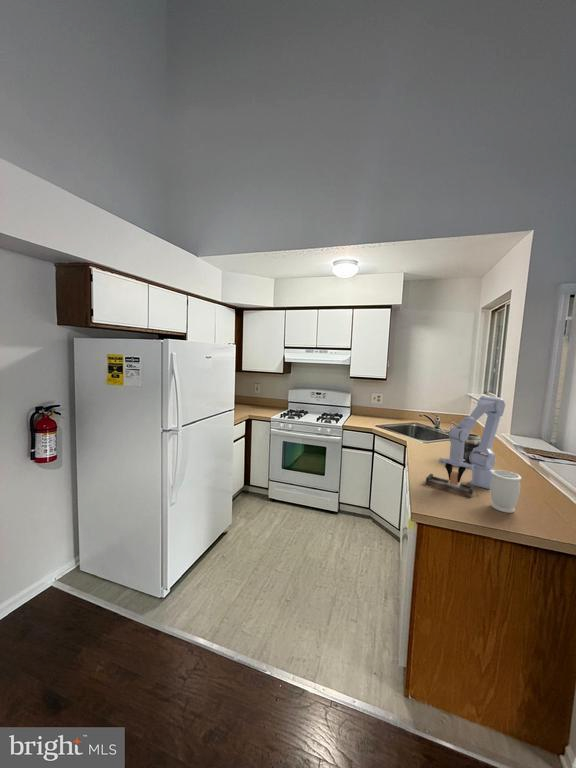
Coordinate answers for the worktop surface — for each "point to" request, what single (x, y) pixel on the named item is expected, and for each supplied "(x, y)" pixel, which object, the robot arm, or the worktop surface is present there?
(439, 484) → the rail board
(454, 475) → the block
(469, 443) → the apothecary jar
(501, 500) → the jar
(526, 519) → the worktop surface
